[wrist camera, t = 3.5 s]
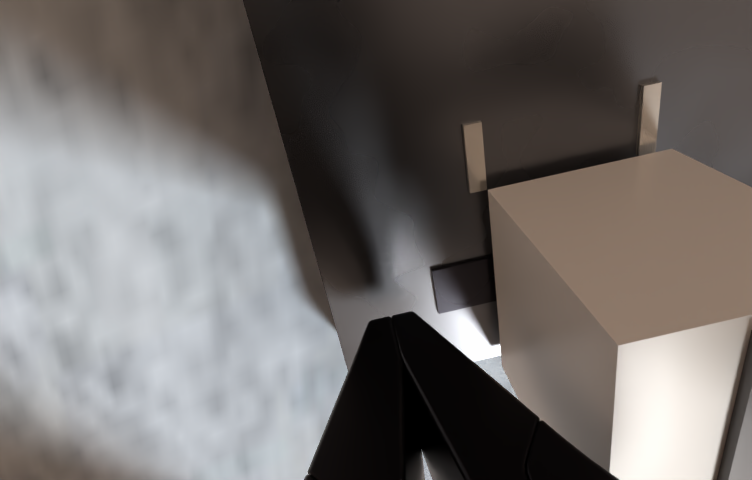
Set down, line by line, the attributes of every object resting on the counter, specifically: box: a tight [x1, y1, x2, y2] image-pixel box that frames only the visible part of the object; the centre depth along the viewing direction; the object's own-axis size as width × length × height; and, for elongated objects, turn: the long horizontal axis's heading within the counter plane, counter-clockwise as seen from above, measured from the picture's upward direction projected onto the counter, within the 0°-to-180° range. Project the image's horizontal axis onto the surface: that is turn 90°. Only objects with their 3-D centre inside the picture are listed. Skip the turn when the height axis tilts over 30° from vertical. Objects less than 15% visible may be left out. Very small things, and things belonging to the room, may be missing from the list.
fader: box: [488, 149, 752, 480], centre depth 8 cm, size 3×4×4 cm
